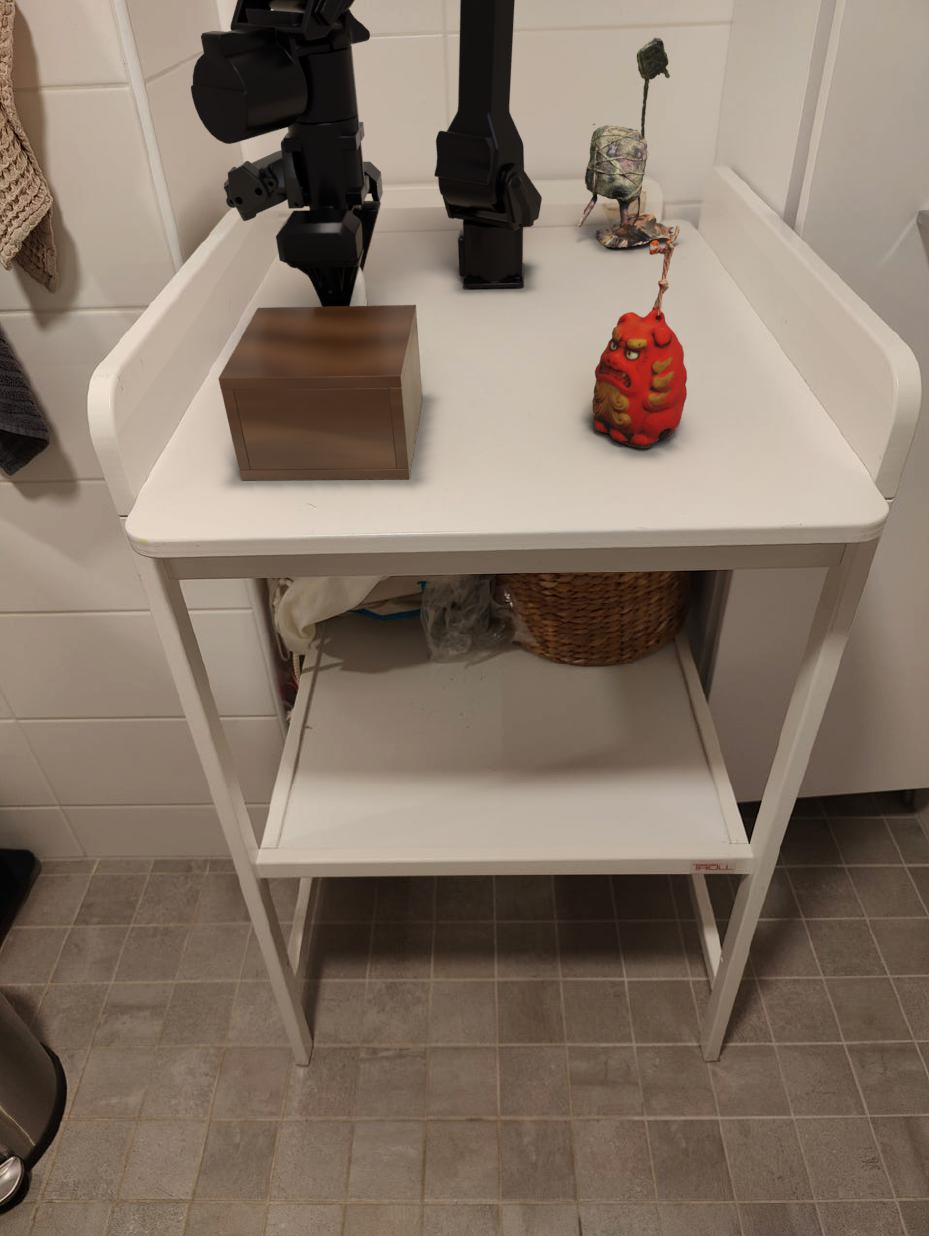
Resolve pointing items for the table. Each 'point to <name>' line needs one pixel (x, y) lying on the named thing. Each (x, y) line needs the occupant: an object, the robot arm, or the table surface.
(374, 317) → the cabinet
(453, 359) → the table surface
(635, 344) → the red clay folk toy
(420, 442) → the table surface
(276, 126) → the robot arm
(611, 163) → the grey-green tall irregular figure
